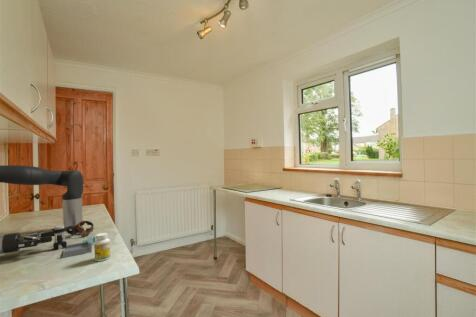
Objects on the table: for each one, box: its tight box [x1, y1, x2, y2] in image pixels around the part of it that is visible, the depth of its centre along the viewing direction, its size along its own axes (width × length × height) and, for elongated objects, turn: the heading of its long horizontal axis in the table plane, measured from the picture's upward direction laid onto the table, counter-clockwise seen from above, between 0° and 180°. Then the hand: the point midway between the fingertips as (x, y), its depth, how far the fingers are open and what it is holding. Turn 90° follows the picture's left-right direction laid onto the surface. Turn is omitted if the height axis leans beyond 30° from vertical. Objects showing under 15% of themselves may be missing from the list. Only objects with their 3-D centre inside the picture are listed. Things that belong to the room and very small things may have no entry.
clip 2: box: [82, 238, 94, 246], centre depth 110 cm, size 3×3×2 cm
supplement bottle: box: [93, 232, 111, 262], centre depth 94 cm, size 5×5×10 cm
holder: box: [61, 236, 93, 259], centre depth 103 cm, size 9×10×4 cm
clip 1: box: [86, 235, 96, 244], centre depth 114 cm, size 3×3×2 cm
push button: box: [48, 224, 68, 251], centre depth 107 cm, size 7×5×10 cm
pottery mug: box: [65, 220, 94, 238], centre depth 124 cm, size 12×10×8 cm
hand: (53, 235), depth 106 cm, fingers open, 8 cm apart
